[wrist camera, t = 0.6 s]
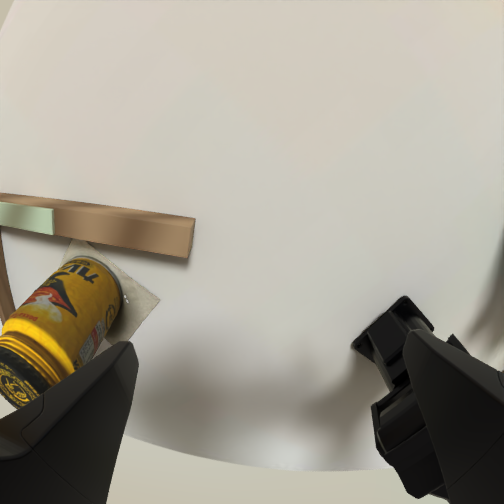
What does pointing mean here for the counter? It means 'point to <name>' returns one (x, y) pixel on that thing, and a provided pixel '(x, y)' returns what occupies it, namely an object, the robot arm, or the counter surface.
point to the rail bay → (91, 229)
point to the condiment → (68, 322)
